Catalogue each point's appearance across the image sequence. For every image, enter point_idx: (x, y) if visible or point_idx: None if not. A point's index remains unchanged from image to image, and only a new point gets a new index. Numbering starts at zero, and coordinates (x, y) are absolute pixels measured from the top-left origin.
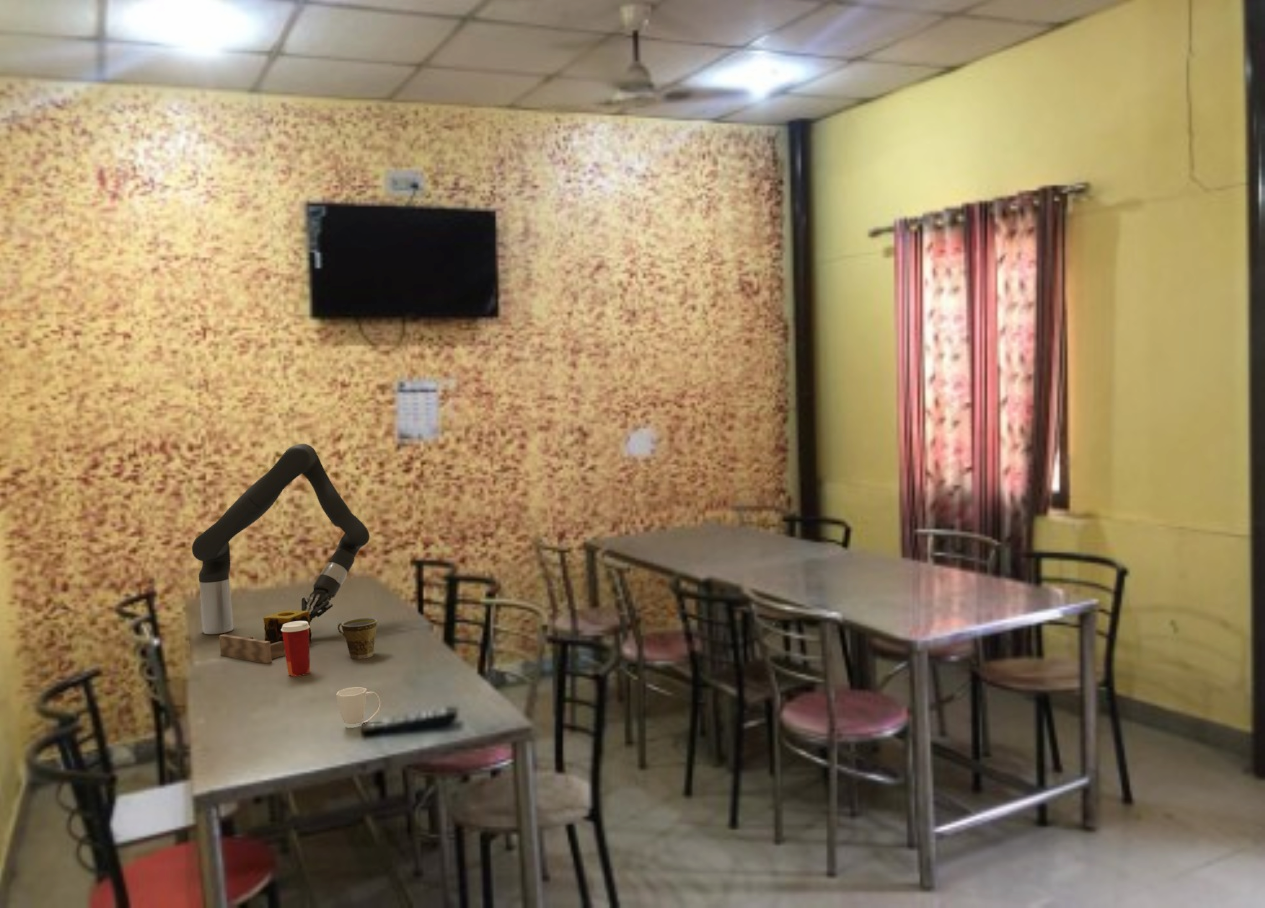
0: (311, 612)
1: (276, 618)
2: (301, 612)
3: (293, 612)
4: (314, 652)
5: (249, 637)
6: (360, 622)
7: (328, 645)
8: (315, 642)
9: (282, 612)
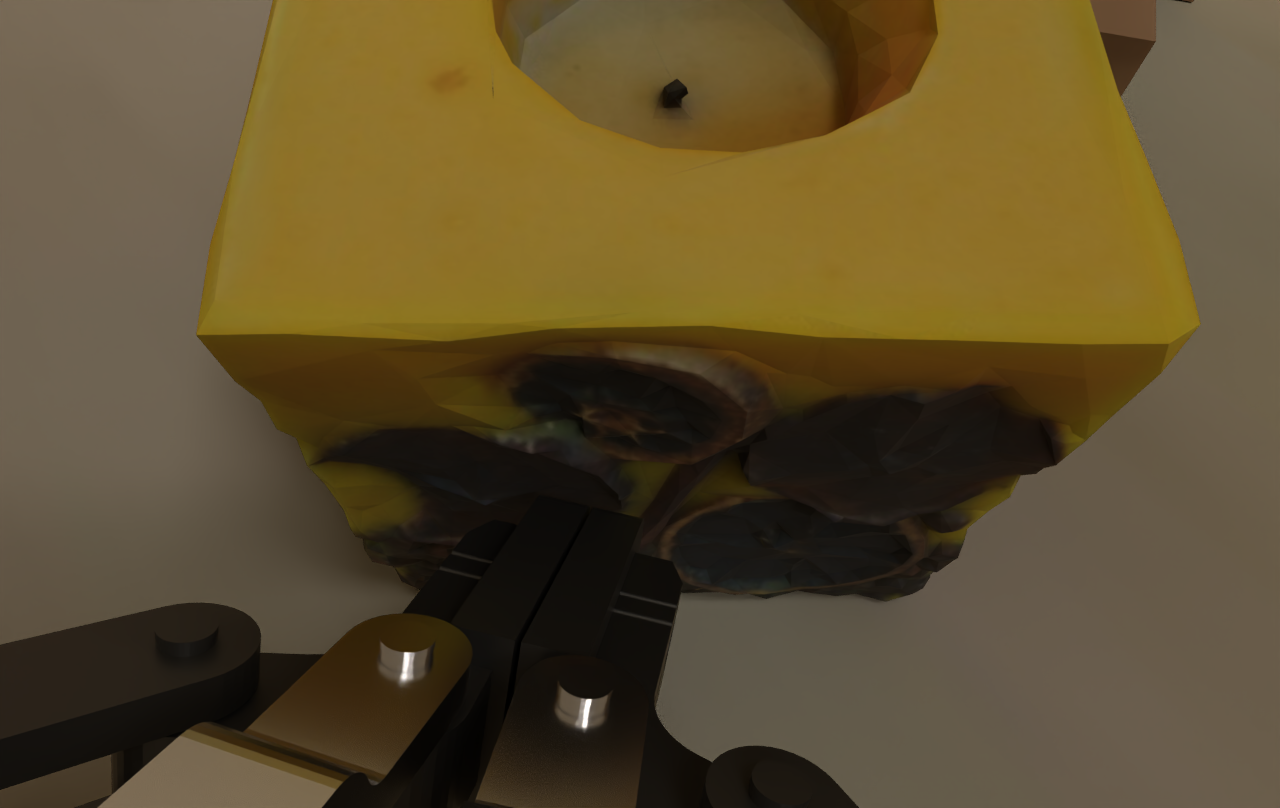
0: (332, 672)
1: None
2: (354, 158)
3: (641, 162)
4: (95, 173)
5: (1103, 2)
6: None
7: (30, 478)
8: (344, 604)
9: (984, 118)
